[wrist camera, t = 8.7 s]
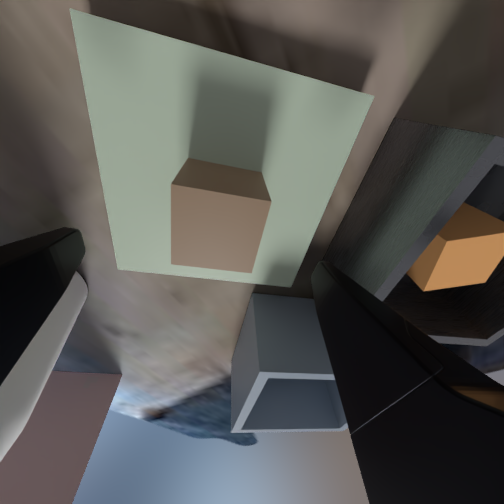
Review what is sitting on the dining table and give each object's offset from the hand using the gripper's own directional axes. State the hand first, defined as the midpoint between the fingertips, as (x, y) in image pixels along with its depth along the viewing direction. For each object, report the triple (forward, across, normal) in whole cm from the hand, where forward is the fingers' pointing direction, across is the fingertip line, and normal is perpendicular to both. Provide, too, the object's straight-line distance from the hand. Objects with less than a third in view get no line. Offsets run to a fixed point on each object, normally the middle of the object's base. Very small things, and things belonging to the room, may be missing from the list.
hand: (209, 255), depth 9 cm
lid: (+7, 0, 0) cm, 7 cm away
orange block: (+6, -15, 0) cm, 16 cm away
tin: (+7, -15, 0) cm, 17 cm away
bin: (+7, -10, +15) cm, 19 cm away
